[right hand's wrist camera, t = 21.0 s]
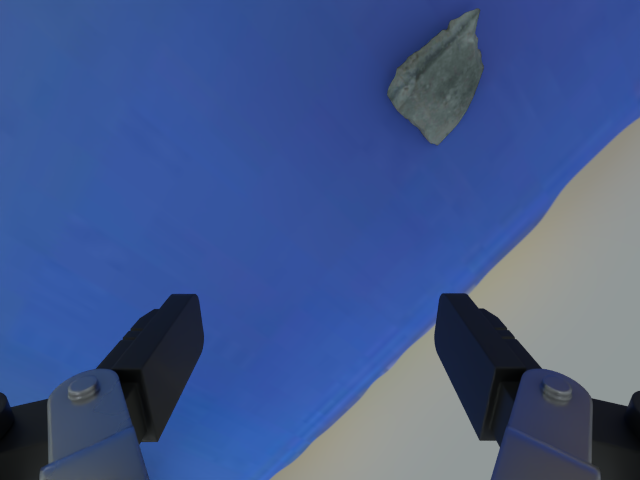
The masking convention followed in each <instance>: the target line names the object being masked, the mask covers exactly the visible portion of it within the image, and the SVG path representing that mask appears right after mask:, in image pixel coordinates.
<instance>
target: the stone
mask: <svg viewBox="0 0 640 480" xmlns="http://www.w3.org/2000/svg"><path fill="white" fill-rule="evenodd" d="M479 13H480V9H478V8H477V9H475V10H473V11H469V12H466V13H464V14H463V15H462V16H461V17H459V18H457V19H454V20H451V21H450V23H449V25H448V28H447V30H442V31H441V32H440V33H439V34H438V35H437V36H435V37H434V38H433V39H431V40H430V42H429V43H427V44H426V45H425V46H424V47H422V48H421V49H420V50H419V51H417V52H415V53H413V54H412V55H411V56H409V57H408V58H407V60H406V61H405V62H404V63H403V64H402V65H401V66H399V67H398V68H397V71H396V75H395V77H394V79H393V80H392V82H391V84H390V86H389V89H388V93H387V96H388V97H389V99H390V100H391V102H392V104H393V105H394V107H395V108H396V109H397V111H398V112H399V113H400V114H401V115H403V116H404V117H405V118H406V119H409V121H410V122H411V123H412V124H413V125H414V126H416V127H417V128H418V129H419V130H420V131H421V133H422V134H423V135H424V137H425V138H426V139H427V140H428V141H429V142H430V143H431V144H432V143H433V144H436V145H439V144H440V143H441V142H442V141H443V139H444V138H445V137H446V136H447V135H448V134H449V133H450V132H451V131H452V130H453V129H454V128H455V126H456V125H457V124H458V123H459V121H460V120H461V118H462V117H463V115H464V114H465V112H466V111H467V109H468V107H469V105H470V103H471V101H472V99H473V96H474V94H475V91H476V89H477V86H478V83H479V80H480V77H481V74H482V72H483V69H484V66H483V64H482V61H481V56H482V55H481V52H480V50H479V49H477V42H478V38H477V37H476V35H475V30H476V26H477V20H478V17H479Z"/></svg>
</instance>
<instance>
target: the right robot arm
mask: <svg viewBox="0 0 640 480" xmlns="http://www.w3.org/2000/svg"><path fill="white" fill-rule="evenodd" d="M434 340H435V347H436V351H437V354H438V356H439V358H440V360H441V362H442V364H443V366H444V368H445V370H446V372H447V374H448V376H449V378H450V380H451V383H452V385H453V387H454V389H455V391H456V393H457V395H458V397H459V399H460V401H461V403H462V405H463V407H464V409H465V411H466V413H467V415H468V417H469V420H470V422H471V424H472V426H473V428H474V430H475V432H476V434H477V436H478V438H479V440H480V441H497V443H498V444H499V446H500V450H499V453H498V457H497V460H496V464H495V467H494V470H493V474H492V477H491V480H640V391H637V392H635V393H634V394H633V395H632V398H631V400H630V403H629V405H628V406H624V405H619V404H615V403H610V402H606V401H601V400H597V399H592V398H591V396H590V395H589V393H588V392H587V391H586V390H585V389H584V388H583V387H582V386H581V385H580V384H578V383H577V382H576V381H574V380H572V379H571V378H569V377H567V376H565V375H563V374H560V373H558V372H554V371H551V370H547V369H542V368H541V367H540V366H539V365H538V363H537V362H536V361H535V360H534V359H533V358H532V357H531V355H530V354H529V353H528V352H527V351H526V350H525V348H524V347H523V346H522V345H521V344H520V343H519V341H518V340H517V339H515V337H514V336H513V334H512V333H511V332H510V331H509V330H507V328H506V326H505V325H504V324H503V323H502V322H501V321H500V319H499V318H498V317H496V316H495V315H493V314H491V313H490V312H488V311H487V310H485V309H479V308H478V307H477V306H476V305H475V303H474V302H473V301H472V300H471V299H470V297H469V296H468V295H467V294H465V293H443V294H441V296H440V299H439V305H438V312H437V319H436V326H435V334H434ZM203 343H204V332H203V325H202V318H201V311H200V304H199V299H198V296H197V295H196V294H172V295H170V297H169V298H168V299H167V300H166V301H165V303H164V304H163V305H162V306H161V308H160V309H154V310H152V311H151V312H149V313H147V314H146V315H144V316H143V317H141V318H140V319H139V320H138V321H137V322H136V323H135V324H134V326H133V327H132V328H131V331H128V332H127V334H126V335H125V336H124V337H123V340H121V341H120V342H119V343H118V344H117V345H116V346H115V347H114V349H113V350H112V351H111V352H110V353H109V354H108V355H107V357H106V358H105V359H104V360H103V361H102V362H101V363H100V365H99V366H98V367H97V368H96V369H93V370H89V371H85V372H82V373H80V374H77V375H75V376H73V377H71V378H69V379H68V380H66V381H64V382H63V383H62V384H60V385H59V386H58V387H57V388H56V389H55V390H54V391H53V392H52V393H51V395H50V396H49V399H45V400H41V401H37V402H32V403H28V404H23V405H19V406H14V407H10V405H9V402H8V400H7V398H6V396H5V395H4V394H3V393H1V392H0V480H149V477H148V474H147V470H146V467H145V464H144V460H143V457H142V453H141V450H140V447H139V444H140V442H158V440H159V438H160V436H161V434H162V432H163V430H164V428H165V426H166V424H167V422H168V420H169V418H170V416H171V414H172V412H173V410H174V408H175V406H176V404H177V402H178V400H179V398H180V395H181V393H182V391H183V389H184V387H185V385H186V383H187V381H188V379H189V377H190V375H191V373H192V371H193V369H194V367H195V365H196V363H197V361H198V359H199V357H200V355H201V352H202V349H203Z"/></svg>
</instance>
